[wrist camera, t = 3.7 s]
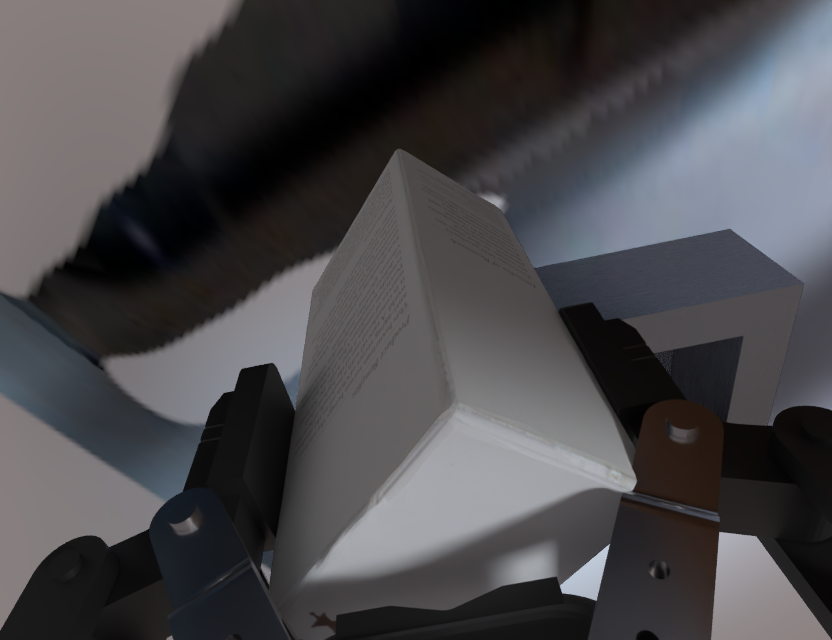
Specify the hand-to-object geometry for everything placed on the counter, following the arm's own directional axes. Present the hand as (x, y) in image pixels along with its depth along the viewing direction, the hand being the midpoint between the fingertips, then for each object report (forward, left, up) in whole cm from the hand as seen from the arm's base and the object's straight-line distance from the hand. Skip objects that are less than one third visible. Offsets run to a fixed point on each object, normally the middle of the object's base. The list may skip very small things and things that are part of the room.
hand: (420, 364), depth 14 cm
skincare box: (0, 0, -7) cm, 7 cm away
